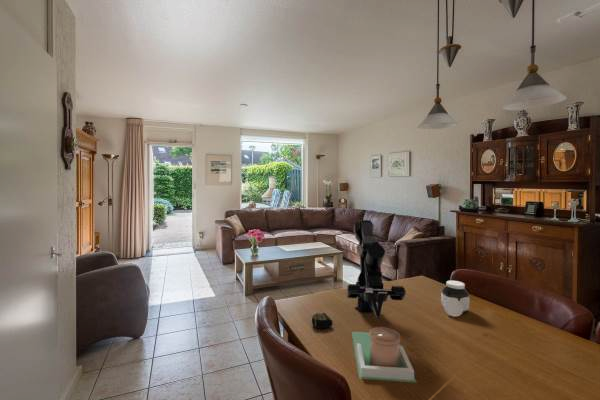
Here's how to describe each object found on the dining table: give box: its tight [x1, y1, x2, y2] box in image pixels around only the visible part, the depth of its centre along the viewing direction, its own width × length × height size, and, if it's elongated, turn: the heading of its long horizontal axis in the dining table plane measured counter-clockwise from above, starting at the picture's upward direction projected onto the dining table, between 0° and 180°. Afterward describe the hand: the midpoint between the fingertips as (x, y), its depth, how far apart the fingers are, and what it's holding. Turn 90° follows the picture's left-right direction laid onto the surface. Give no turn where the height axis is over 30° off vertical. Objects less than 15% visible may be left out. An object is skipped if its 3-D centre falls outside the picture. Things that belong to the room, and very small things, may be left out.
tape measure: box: [311, 312, 333, 330], centre depth 107 cm, size 7×7×4 cm
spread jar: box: [440, 280, 470, 317], centre depth 119 cm, size 12×11×12 cm
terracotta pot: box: [368, 326, 401, 368], centre depth 83 cm, size 8×8×9 cm
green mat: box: [351, 331, 418, 383], centre depth 89 cm, size 25×15×1 cm, turn 174°
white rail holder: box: [357, 343, 415, 380], centre depth 83 cm, size 12×14×2 cm
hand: (378, 317), depth 92 cm, fingers closed
